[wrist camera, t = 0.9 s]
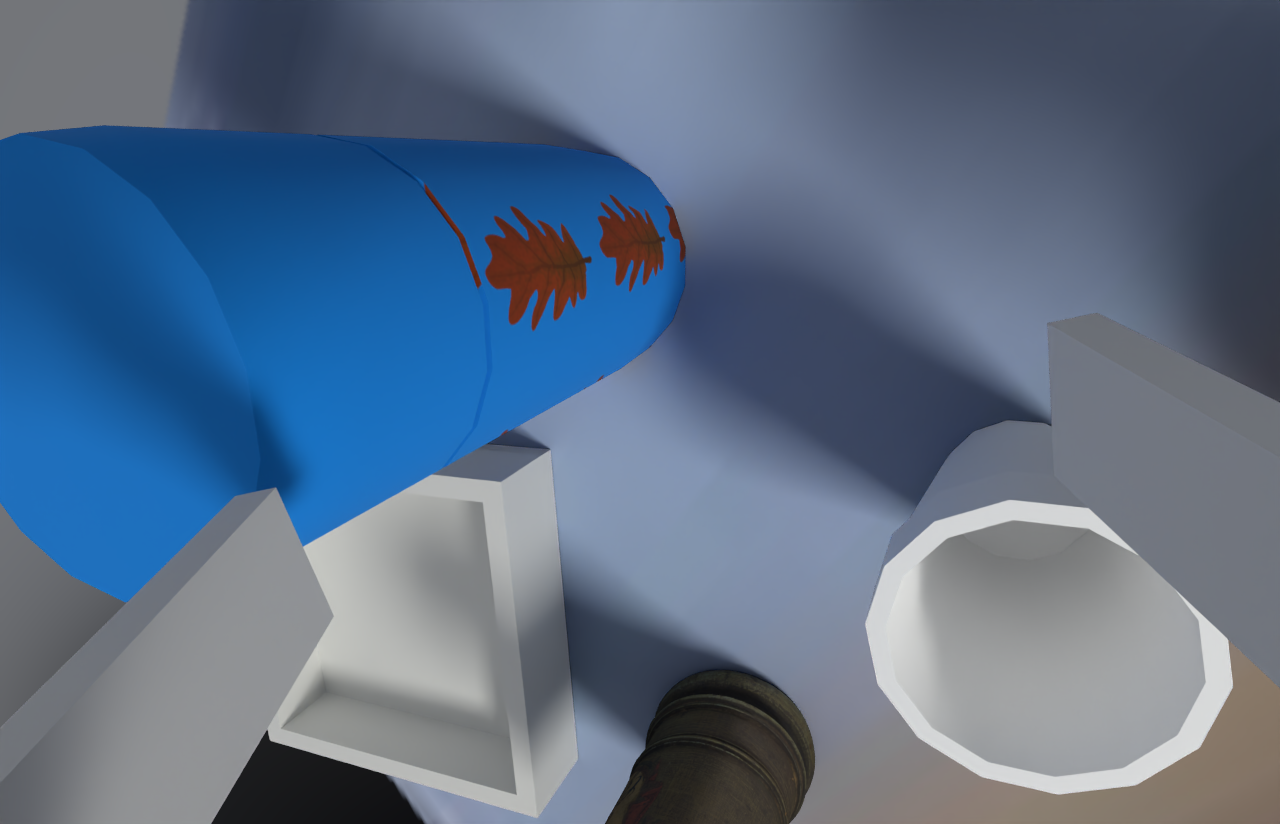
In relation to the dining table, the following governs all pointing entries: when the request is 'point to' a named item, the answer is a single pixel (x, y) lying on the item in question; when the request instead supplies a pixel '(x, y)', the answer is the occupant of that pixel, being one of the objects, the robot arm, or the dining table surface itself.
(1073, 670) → the foam cup
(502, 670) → the white bin
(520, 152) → the thermos
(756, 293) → the dining table surface
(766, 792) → the container
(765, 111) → the dining table surface
